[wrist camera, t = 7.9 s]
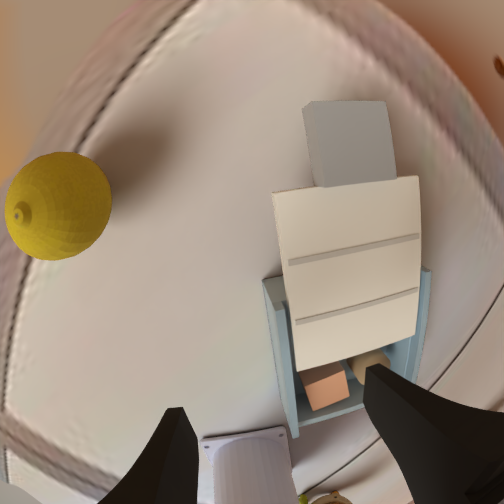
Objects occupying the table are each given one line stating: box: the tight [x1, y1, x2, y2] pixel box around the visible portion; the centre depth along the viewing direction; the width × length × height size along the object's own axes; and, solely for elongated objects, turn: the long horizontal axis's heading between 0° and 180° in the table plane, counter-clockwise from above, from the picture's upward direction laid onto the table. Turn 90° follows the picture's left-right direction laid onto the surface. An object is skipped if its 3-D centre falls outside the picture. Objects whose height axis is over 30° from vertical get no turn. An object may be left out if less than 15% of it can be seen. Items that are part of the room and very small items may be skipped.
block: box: [298, 361, 350, 411], centre depth 20 cm, size 3×3×2 cm
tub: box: [262, 266, 432, 438], centre depth 19 cm, size 11×10×5 cm
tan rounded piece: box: [346, 348, 391, 385], centre depth 20 cm, size 3×3×2 cm
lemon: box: [5, 152, 112, 260], centre depth 13 cm, size 6×6×8 cm
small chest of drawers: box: [271, 101, 421, 372], centre depth 14 cm, size 14×8×2 cm, turn 9°
